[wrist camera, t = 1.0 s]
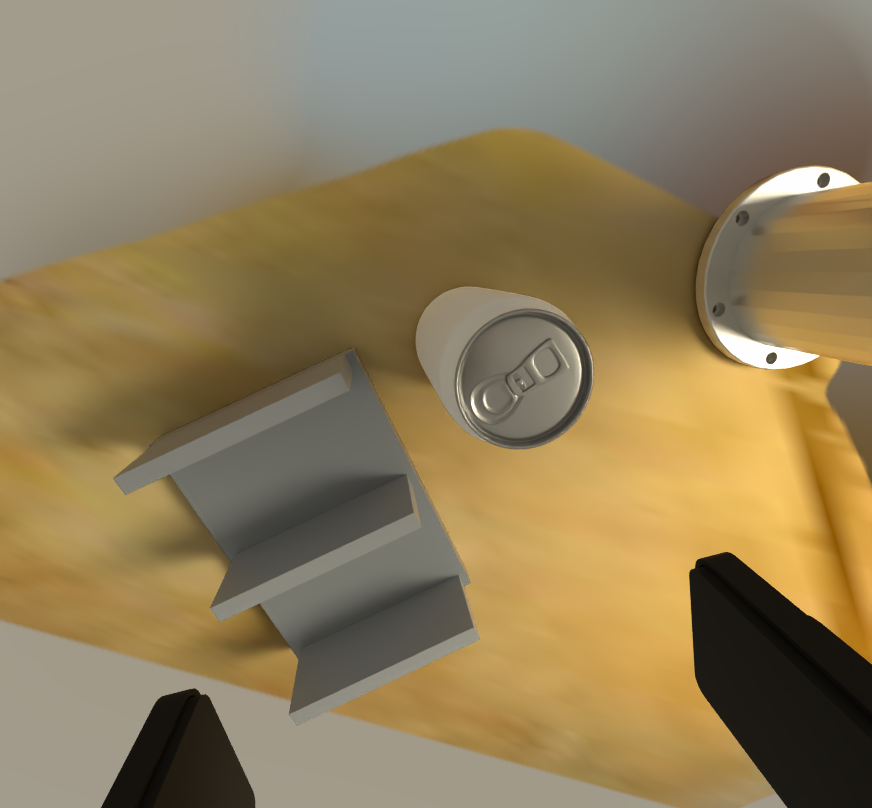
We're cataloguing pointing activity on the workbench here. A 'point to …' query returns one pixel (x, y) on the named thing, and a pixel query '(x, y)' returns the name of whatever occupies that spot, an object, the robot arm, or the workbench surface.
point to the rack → (321, 530)
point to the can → (505, 365)
